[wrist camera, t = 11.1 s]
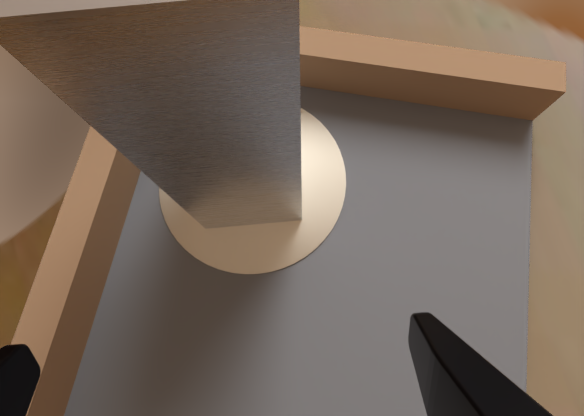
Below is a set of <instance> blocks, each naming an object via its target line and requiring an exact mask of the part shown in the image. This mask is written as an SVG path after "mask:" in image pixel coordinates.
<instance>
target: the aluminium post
mask: <svg viewBox="0 0 584 416" xmlns="http://www.w3.org/2000/svg"><path fill="white" fill-rule="evenodd" d="M0 45H1V46H2V47H3V48H5V49H6V50H7V51H8V52H9V53H10V54H11V55H13V56H14V57H15V58H16V59H17V60H18V61H19V62H20V63H21V64H22V65H24V66H25V67H26V68H27V69H28V70H29V71H30V72H31V73H32V74H34V75H35V76H36V77H37V78H38V79H39V80H40V81H41V82H42V83H44V84H45V85H46V86H47V87H48V88H49V89H50V90H52V91H53V92H54V93H55V94H56V95H57V96H58V97H59V98H60V99H61V100H63V101H64V102H65V103H66V104H67V105H68V106H69V107H70V108H71V109H73V110H74V111H75V112H76V113H77V114H78V115H79V116H81V117H82V118H83V119H84V120H85V121H86V122H87V123H88V124H89V125H90V126H92V127H93V128H94V129H95V130H96V131H97V132H98V133H99V134H100V135H102V136H103V137H104V138H105V139H106V140H107V141H108V142H109V143H111V144H112V145H113V146H114V147H115V148H116V149H117V150H118V151H119V152H121V153H122V154H123V155H124V156H125V157H126V158H127V159H128V160H129V161H131V162H132V163H133V164H134V165H135V166H136V167H137V168H138V169H140V170H141V171H142V172H143V173H144V174H145V175H146V176H147V177H148V178H150V179H151V180H152V181H153V182H154V183H155V184H156V185H157V186H158V187H160V188H161V189H162V190H163V191H164V192H165V193H166V194H167V195H169V196H170V197H171V198H172V199H173V200H174V201H175V202H176V203H177V204H179V205H180V206H181V207H182V208H183V209H184V210H185V211H186V212H187V213H189V214H190V215H191V216H192V217H193V218H194V219H195V220H196V221H198V222H199V223H200V224H201V225H202V226H203V227H204V228H205V229H208V228H219V227H230V226H242V225H253V224H265V223H276V222H287V221H299V220H302V178H301V105H300V32H299V0H0Z"/></svg>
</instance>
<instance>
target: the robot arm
mask: <svg viewBox="0 0 584 416" xmlns="http://www.w3.org/2000/svg"><path fill="white" fill-rule="evenodd" d="M408 344H409V349H410V353H411V357H412V361H413V364H414V368H415V372H416V376H417V379H418V383H419V387H420V391H421V395H422V398H423V402H424V406H425V409H426V413H427V416H553V415H552V414H551V413H549V412H548V411H547V410H546V409H545V408H543V407H542V406H541V405H540V404H539V403H537V402H536V401H535V400H534V399H533V398H531V397H530V396H529V395H528V394H527V393H525V392H524V391H523V390H522V389H521V388H520V387H518V386H517V385H516V384H515V383H514V382H512V381H511V380H510V379H509V378H508V377H506V376H505V375H504V374H503V373H502V372H500V371H499V370H498V369H497V368H496V367H494V366H493V365H492V364H491V363H490V362H489V361H487V360H486V359H485V358H484V357H483V356H481V355H480V354H479V353H478V352H477V351H475V350H474V349H473V348H472V347H471V346H469V345H468V344H467V343H466V342H465V341H464V340H462V339H461V338H460V337H459V336H458V335H456V334H455V333H454V332H453V331H452V330H450V329H449V328H448V327H447V326H446V325H444V324H443V323H442V322H441V321H440V320H438V319H437V318H436V317H435V316H434V315H433V314H431V313H429V312H420V313H413V314H411V317H410V325H409V335H408ZM40 373H41V371H40V366H39V364H38V362H37V360H36V359H35V357H34V355H33V354H32V352H31V350H30V348H29V347H28V346H27V345H25V344H13V345H6V346H4V347H2V348H1V349H0V416H26V414H27V411H28V408H29V406H30V403H31V400H32V397H33V395H34V392H35V389H36V386H37V384H38V381H39V378H40Z"/></svg>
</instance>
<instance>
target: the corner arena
mask: <svg viewBox="0 0 584 416" xmlns="http://www.w3.org/2000/svg"><path fill="white" fill-rule="evenodd" d="M299 32H300V105H301V178H302V220H299V221H287V222H276V223H265V224H253V225H242V226H230V227H219V228H208V229H205V228H204V227H203V226H202V225H201V224H200V223H199V222H198V221H196V220H195V219H194V218H193V217H192V216H191V215H190V214H189V213H187V212H186V211H185V210H184V209H183V208H182V207H181V206H180V205H179V204H177V203H176V202H175V201H174V200H173V199H172V198H171V197H170V196H169V195H167V194H166V193H165V192H164V191H163V190H162V189H161V188H160V187H158V186H157V185H156V184H155V183H154V182H153V181H152V180H151V179H150V178H148V177H147V176H146V175H145V174H144V173H143V172H142V171H141V170H140V169H138V168H137V167H136V166H135V165H134V164H133V163H132V162H131V161H129V160H128V159H127V158H126V157H125V156H124V155H123V154H122V153H121V152H119V151H118V150H117V149H116V148H115V147H114V146H113V145H112V144H111V143H109V142H108V141H107V140H106V139H105V138H104V137H103V136H102V135H100V134H99V133H98V132H97V131H96V130H95V129H94V128H93V127H92V126H90V129H89V132H88V134H87V137H86V140H85V143H84V145H83V148H82V151H81V153H80V156H79V159H78V162H77V165H76V167H75V170H74V173H73V175H72V178H71V181H70V184H69V186H68V189H67V192H66V195H65V197H64V200H63V203H62V206H61V208H60V211H59V214H58V217H57V219H56V222H55V225H54V228H53V230H52V233H51V236H50V239H49V241H48V244H47V247H46V249H45V252H44V255H43V258H42V260H41V263H40V266H39V269H38V271H37V274H36V277H35V280H34V282H33V285H32V288H31V291H30V293H29V296H28V299H27V302H26V304H25V307H24V310H23V313H22V315H21V318H20V321H19V324H18V326H17V329H16V332H15V334H14V337H13V340H12V343H11V345H13V344H25V345H27V346H28V347H29V348H30V350H31V352H32V354H33V355H34V357H35V359H36V360H37V362H38V364H39V366H40V371H41V373H40V378H39V381H38V384H37V386H36V389H35V392H34V395H33V397H32V400H31V403H30V406H29V408H28V411H27V414H26V416H427V413H426V409H425V406H424V402H423V398H422V395H421V391H420V387H419V383H418V379H417V376H416V372H415V368H414V364H413V361H412V357H411V353H410V349H409V344H408V335H409V325H410V317H411V314H413V313H420V312H429V313H431V314H433V315H434V316H435V317H436V318H437V319H438V320H440V321H441V322H442V323H443V324H444V325H446V326H447V327H448V328H449V329H450V330H452V331H453V332H454V333H455V334H456V335H458V336H459V337H460V338H461V339H462V340H464V341H465V342H466V343H467V344H468V345H469V346H471V347H472V348H473V349H474V350H475V351H477V352H478V353H479V354H480V355H481V356H483V357H484V358H485V359H486V360H487V361H489V362H490V363H491V364H492V365H493V366H494V367H496V368H497V369H498V370H499V371H500V372H502V373H503V374H504V375H505V376H506V377H508V378H509V379H510V380H511V381H512V382H514V383H515V384H516V385H517V386H518V387H520V388H521V389H522V390H523V391H524V392H525V393H526V378H527V335H528V292H529V249H530V206H531V163H532V121H533V120H534V119H535V118H536V117H537V116H538V115H540V114H541V113H542V112H543V111H544V110H545V109H547V108H548V107H549V106H550V105H551V104H552V103H554V102H555V101H556V100H557V99H558V98H559V97H561V96H562V95H563V94H564V93H565V92H566V62H559V61H552V60H544V59H537V58H530V57H522V56H515V55H508V54H500V53H493V52H486V51H478V50H471V49H464V48H456V47H449V46H442V45H434V44H427V43H420V42H412V41H405V40H398V39H390V38H383V37H376V36H368V35H361V34H354V33H347V32H339V31H332V30H325V29H317V28H310V27H303V26H299Z"/></svg>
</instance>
